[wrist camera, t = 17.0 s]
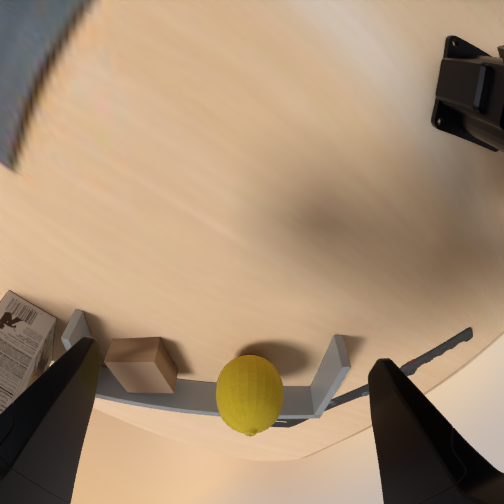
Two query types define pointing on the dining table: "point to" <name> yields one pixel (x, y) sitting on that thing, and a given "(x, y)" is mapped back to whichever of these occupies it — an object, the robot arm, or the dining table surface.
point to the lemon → (249, 394)
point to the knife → (406, 369)
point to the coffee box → (22, 346)
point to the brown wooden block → (142, 365)
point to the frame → (204, 393)
